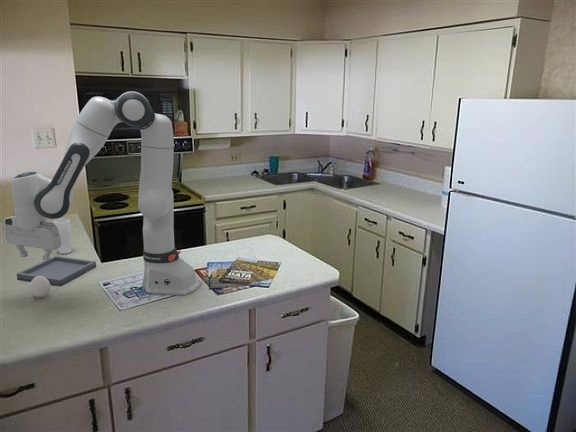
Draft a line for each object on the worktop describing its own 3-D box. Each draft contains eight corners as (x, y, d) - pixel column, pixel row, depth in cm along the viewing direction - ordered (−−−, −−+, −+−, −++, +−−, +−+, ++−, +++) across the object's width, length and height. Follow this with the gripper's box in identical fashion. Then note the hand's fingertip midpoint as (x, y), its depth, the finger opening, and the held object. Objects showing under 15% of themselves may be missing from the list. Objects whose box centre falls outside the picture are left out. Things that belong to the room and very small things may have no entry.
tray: (96, 266, 183) (95, 261, 182) (60, 286, 164) (60, 280, 163) (56, 261, 188) (55, 255, 187) (17, 279, 169) (16, 273, 168)
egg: (46, 291, 160) (44, 271, 158) (54, 296, 156) (52, 275, 154) (28, 296, 155) (25, 276, 153) (35, 302, 152) (32, 281, 149)
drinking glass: (67, 255, 194) (63, 223, 190) (53, 254, 195) (49, 222, 191) (77, 250, 200) (73, 219, 196) (64, 249, 202) (60, 218, 198)
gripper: (63, 221, 148) (67, 259, 152) (14, 214, 153) (19, 251, 157) (49, 226, 143) (53, 265, 146) (-2, 219, 147) (4, 257, 151)
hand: (35, 258), depth 152 cm, fingers open, 8 cm apart
